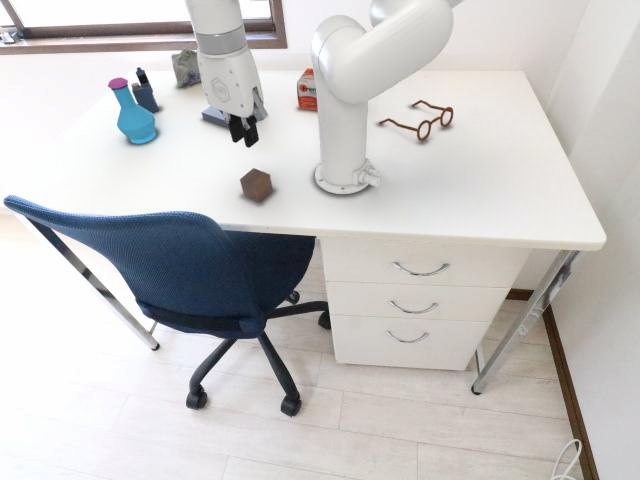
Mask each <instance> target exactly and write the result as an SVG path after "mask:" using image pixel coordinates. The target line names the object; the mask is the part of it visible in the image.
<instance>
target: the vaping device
mask: <svg viewBox="0 0 640 480" xmlns="http://www.w3.org/2000/svg"><path fill="white" fill-rule="evenodd" d="M135 75H136V77H137V79H138V82H139V83H138V82H133V83H131V85H130V86H131V91H132V92H131V93H132V94H133V98H134V100H135V102H136V104H138V105H140V106H141V107H143V108H144V109H146V110H148V111H149V112H151V113H152V114H153V113H156V112H159V111H160V107H159V105H158V103H157V101H156V98H155V96H154V90H153V87H152V85H151V83H150V81H149V79H148V76H147V73H146V71H145V69H142V67H139V66H138V67H137V68H136V71H135Z"/></svg>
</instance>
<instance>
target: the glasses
mask: <svg viewBox="0 0 640 480" xmlns="http://www.w3.org/2000/svg"><path fill="white" fill-rule="evenodd" d="M419 104H423V105H425V106H427V107H428V108H430V109H432V110H433V109H434V110H438V111H442V112H441V113H440V116H437V117H435V118H433V119H432V120H428V119H424V120H423V121H421V122H420V123H419V125H418V126H417V128H416V127H412V126H409V125H405V124H402V123H398V122H397V121H395V119H392V118H390V117H388V118H386V119H384V120H383V119H382V120H380V121H379V125H382V124H384V123H387V122H390V123H391V124H393V125H395V126H396V127H399V128H400V129H401V128H402V129H405V130H408V131H412V132H416V138H417V139H418V140H419V141H421V142H423V141H425V140H427V139H428V138H429V136H430V134H431V130H432V125H433V124H434V123H435V122H437V121H439V123H440V126H441V127H442V128H447V127H448V126H449V125H450V124H451V123H452V121H453V119H454V108H453V107H452V106H447V107H443V106H437V105H433V104H430V103H429V102H428V101H424V100H422V99H419V100H418V101H415V102H414V103H412V104H411V107H412V108H413V107H416V106H418V105H419ZM446 112H447V113H450V117H449V120H448V121H447V122H446V123H445V124H444V116H445V114H446ZM425 124H427V125H428V129H427V133H426V134H425V136H423V137H421V129H422V127H423V125H425Z"/></svg>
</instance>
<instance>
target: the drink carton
mask: <svg viewBox="0 0 640 480" xmlns="http://www.w3.org/2000/svg"><path fill="white" fill-rule="evenodd" d="M296 94H297V102H298V108H299V109H301V110H310V111H316V112H318V107H317V95H316V86H315V79H314V72H313V68H310V67H309V68H306V69H305V71H304V72H303V73H302V74H301V76H300V77H299V78H298V80H297V81H296Z"/></svg>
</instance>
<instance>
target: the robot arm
mask: <svg viewBox="0 0 640 480" xmlns="http://www.w3.org/2000/svg"><path fill="white" fill-rule="evenodd" d="M251 1H254V2H266V1H267V0H251ZM464 1H465V0H371V3H370V7H369V20H370V23H371V26H372V28H371V29H369V30H366V29H365V28H364V26H362V24H360V23H359V22H358V21H357V20H356V19H354V18H353V17H350V16H348V15H345V14H335V15H331V16H328V17H327V18H325V19H324V20H323V21H321V23H320V24H319V25H318V26H317V27H316V29H315V31H314V33H313V35H312V36H313V37H312V38H311V45H310V46H311V47H310V56H311V65H312V69H313V72H314V79H315V86H316V95H317V107H318V111H317V122H318V136H319V137H318V139H319V151H320V163H319V164H318V165H317V166H316V168H315V172H314V178H315V182H316V184H317V185H318V187H320V188H321V189H322V190H324V191H326V192H328V193H332V194H336V195H351V194H354V193H358V192H360V191H362V190H364V189H365V188H366V187H367V186H369V185H370V186H373V187H376V188H378V187H380V186H379V185H381V181H382V179H381V177H380V176H381V173H382V172H381V170H378V169H374V168H372V166H371V158H367V136H368V135H367V132H368V112H369V101H370V100H372V99H375V98H376V97H378V96H380V95H381V94H383V93H385V92H386V91H388V90H390V89H391V88H393V87H394V86H396V85H398V84H399V83H401V82H402V81H404V80H405V79H408V78H409V77H410V76H412V75H414V74H415V73H417V72H418V71H420V70H422V69H423V68H425V67H426V66H428V65H429V64H430V63H431V62H433V61H434V60H435V59H436V58H438V56H439V55H440V54H441V53H442V51H443V50H444V48H446V46H447V44H448V42H449V40H450V38H451V36H452V32H453V29H454V23H455V21H454V13H453V9H454V8H456V7H457V6H459V5H460V4H461V3H463V2H464ZM184 3H185V6H186V10H187V13H188V17H189V20H190V23H191V27H192V30H193V34H194V38H195V41H196V44H197V47H196V52H197V60H198V67H199V72H200V77H201V81H200V82H201V85H202V89H203V93H204V96H205V100H206V102H207V104H208V105H209V107H210V106H211V107H213V108H216V109H218V110H219V111H220V112H221V113H222V114H223V116H224V120H225V122H226V123H229V124H228V126H229V128H228V130H229V132H230V137H231V141H232V142H233V143H234V144H237V143H238V142H240V141H241V140H242V139H243V140H244V141H243V142H244V145H245V147H246V148H248V149H250V148H251V147H253V146H254V145H255V144H257V143H258V142H259V141H260V135H259V131H258V127H257V124H258V123H259V122H262V121H264V120H265V119H267V118H268V116H269V114H268V111H267V110H266V108H265V105H264V104H265V103H264V101H265V100H264V94H263V87H262V83H261V79H260V75H259V71H258V67H257V64H256V62H255V59H254V55H253V53H252V51H251V48H250V47H249V46H248V41H247V36H246V29H245V25H244V20H243V15H242V10H241V5H240V0H184ZM238 116H239V117H238ZM249 116H250V118H249V119H248V117H249Z"/></svg>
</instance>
